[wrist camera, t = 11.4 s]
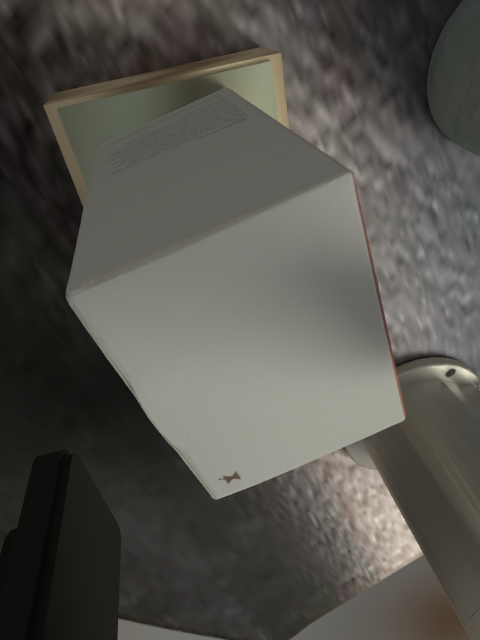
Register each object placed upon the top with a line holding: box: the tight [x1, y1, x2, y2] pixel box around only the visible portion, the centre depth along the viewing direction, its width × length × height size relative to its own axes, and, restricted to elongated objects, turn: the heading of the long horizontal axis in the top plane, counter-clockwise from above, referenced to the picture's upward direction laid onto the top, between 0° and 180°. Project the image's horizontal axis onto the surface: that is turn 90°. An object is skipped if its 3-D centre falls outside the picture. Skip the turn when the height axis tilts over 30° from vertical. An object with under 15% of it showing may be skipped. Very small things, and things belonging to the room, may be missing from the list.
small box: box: [66, 87, 406, 499], centre depth 16 cm, size 8×6×13 cm
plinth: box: [44, 47, 289, 208], centre depth 23 cm, size 10×10×4 cm
